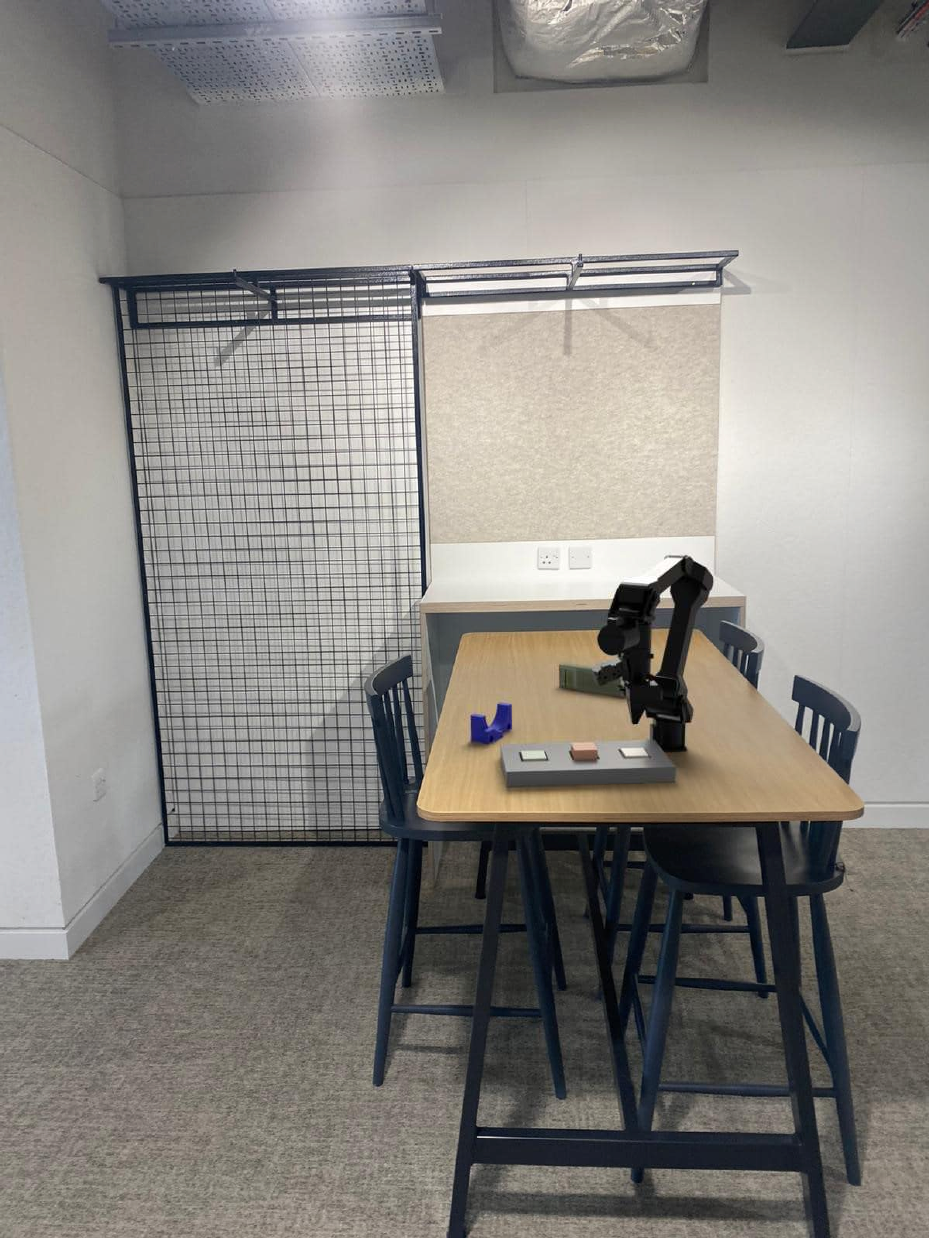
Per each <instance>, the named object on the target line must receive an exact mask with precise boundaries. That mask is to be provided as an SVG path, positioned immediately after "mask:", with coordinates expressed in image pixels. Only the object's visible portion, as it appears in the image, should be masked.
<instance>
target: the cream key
mask: <svg viewBox="0 0 929 1238" xmlns="http://www.w3.org/2000/svg"><path fill="white" fill-rule="evenodd" d="M621 755H622V757H623V758H624V759H628V758H649V755H648V754H647V753H646V751H645V750H644V748H621Z"/></svg>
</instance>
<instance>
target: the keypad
mask: <svg viewBox="0 0 929 1238" xmlns="http://www.w3.org/2000/svg"><path fill="white" fill-rule="evenodd" d="M586 742H587V741H564V742H563V741H562V742H561V741H560V742H530V743H528V742H527V743H525V742H523V743H500V744H499V745H500V746H499V747H500V749H499V750H500V754H499V755H500V756H499V757H500V762H501V766H502V767H501V768H502V772H503V776H504V777H503V778H504V781H505V786H506V788H513V787H514V788H515V787H517V788H518V787H520V788H521V787H547V786H548V787H549V786H552V787H553V786H554V787H555V786H582V785H583V786H585V785H587V786H588V785H617V784H618V785H619V784H621V785H622V784H650V783H675V782H676V771H677V770H676V765H675V764H674V763H673V762H672V761H671V759H670V758H669V757H668V755H667V754H666V753H665V751H663V750H662V749H661V747H660V746H659V745H658V744H657V742H656V741H655V740H650V739H638V740H637V739H635V740H634V739H631V740H604V741H603V740H599V741H592V742H594V744H595V746H596V748H597V750H598V759H593V760H574V758H573V756H572V754H571V743H586ZM621 748H644V750H645V751H646V753H647V754H648V755H649V758H628V759H624V758H623V757H622V755H621ZM521 751H544V753H545V756H546V761H524V762H521Z"/></svg>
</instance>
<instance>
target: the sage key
mask: <svg viewBox="0 0 929 1238" xmlns="http://www.w3.org/2000/svg"><path fill="white" fill-rule="evenodd" d="M524 761H546V756H545V753H544V751H521V762H524Z"/></svg>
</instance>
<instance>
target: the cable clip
mask: <svg viewBox="0 0 929 1238" xmlns="http://www.w3.org/2000/svg"><path fill="white" fill-rule="evenodd" d="M469 716H470V742H476V743H480V744H485V745H490V744H492V743H494V742H496V741H498V740H500V739H502V738H503V737H504V733H506V732H508V731H511V730H512V729H513V704H512V703H507V702H499V703H497V704H496V712H495V715H494V718H493V720H492V722H491V723H490V725H488V722H487V718H486V717H487V716H486V715H483V714H479V713H473V714H470V715H469Z"/></svg>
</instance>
